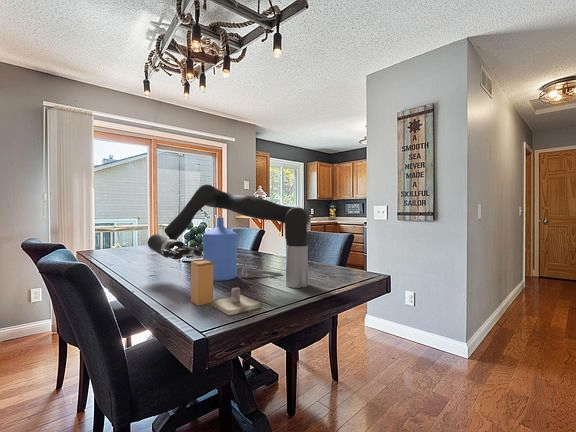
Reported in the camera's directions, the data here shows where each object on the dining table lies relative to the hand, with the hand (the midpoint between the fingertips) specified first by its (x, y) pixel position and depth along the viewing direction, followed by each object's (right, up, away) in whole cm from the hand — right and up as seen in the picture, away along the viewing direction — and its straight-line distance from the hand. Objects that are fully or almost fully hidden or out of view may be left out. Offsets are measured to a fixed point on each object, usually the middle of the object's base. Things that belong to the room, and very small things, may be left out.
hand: (189, 254), depth 115 cm
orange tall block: (+7, -16, -7) cm, 19 cm away
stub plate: (+19, -16, -12) cm, 28 cm away
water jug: (+5, -15, +30) cm, 34 cm away
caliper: (+25, -15, +33) cm, 44 cm away
